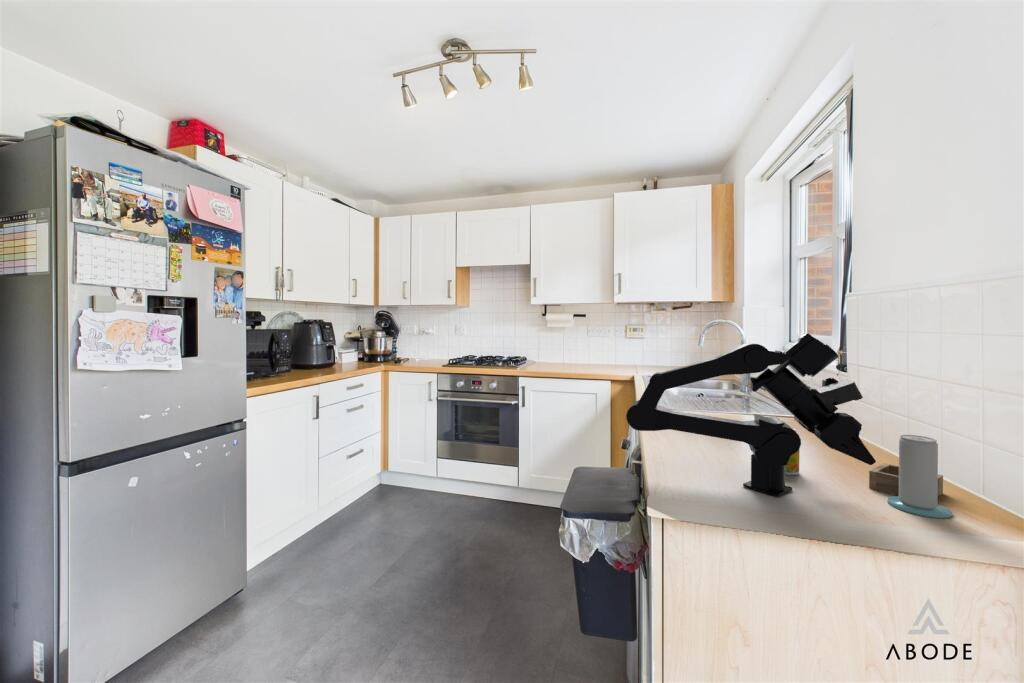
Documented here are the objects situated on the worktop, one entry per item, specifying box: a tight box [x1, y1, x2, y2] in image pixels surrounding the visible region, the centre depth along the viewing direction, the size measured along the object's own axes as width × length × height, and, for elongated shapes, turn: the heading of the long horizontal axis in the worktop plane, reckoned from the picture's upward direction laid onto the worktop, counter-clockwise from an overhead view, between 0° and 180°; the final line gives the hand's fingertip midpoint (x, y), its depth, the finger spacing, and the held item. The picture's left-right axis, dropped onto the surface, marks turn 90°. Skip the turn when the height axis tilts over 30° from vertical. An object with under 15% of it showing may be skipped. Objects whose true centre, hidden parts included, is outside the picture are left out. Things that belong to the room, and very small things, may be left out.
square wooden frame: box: [868, 463, 944, 498], centre depth 78 cm, size 9×9×4 cm
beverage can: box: [898, 434, 939, 510], centre depth 70 cm, size 5×5×12 cm
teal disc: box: [887, 495, 953, 519], centre depth 70 cm, size 8×8×1 cm
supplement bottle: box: [785, 427, 800, 476], centre depth 89 cm, size 5×5×10 cm
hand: (862, 455), depth 73 cm, fingers open, 9 cm apart
